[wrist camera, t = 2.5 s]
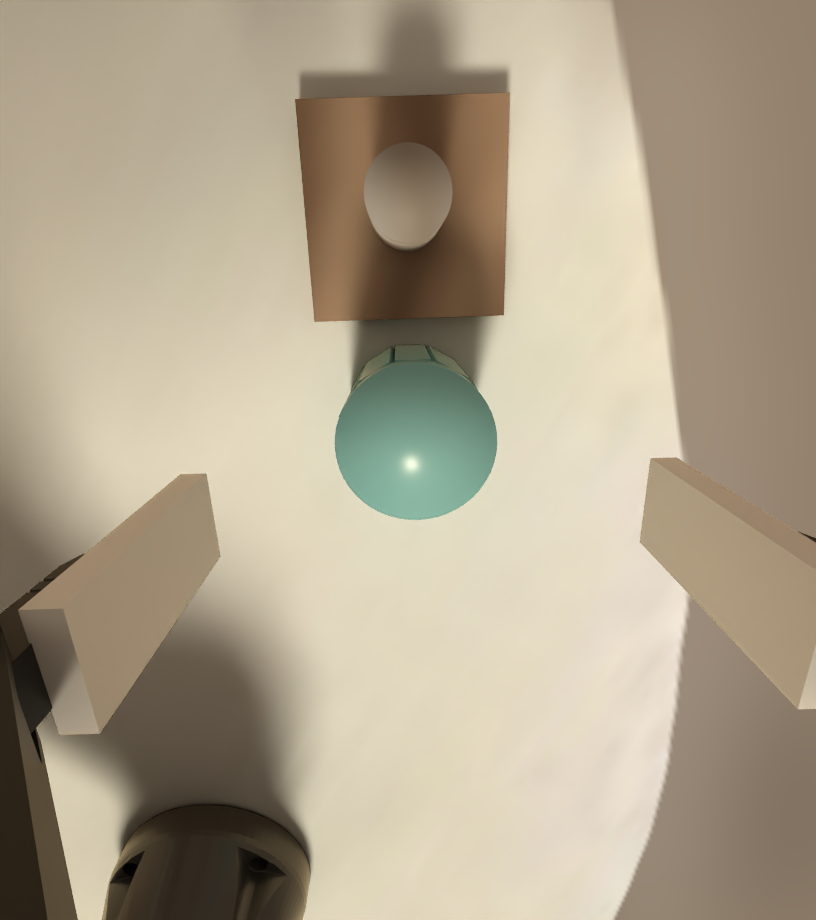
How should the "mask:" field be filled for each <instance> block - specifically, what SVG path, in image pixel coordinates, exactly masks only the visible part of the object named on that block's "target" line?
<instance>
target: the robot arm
mask: <svg viewBox="0 0 816 920" xmlns="http://www.w3.org/2000/svg"><path fill="white" fill-rule="evenodd" d="M640 543H641V544H642V545H643V546H644V547H645V548H646V549H647V550H648V551H649V552H650V553H651V554H652V555H653V557H654V558H655V559H656V560H657V561H658V562H659V563H660V564H661V565H662V566H663V567H664V568H665V569H666V570H667V571H668V572H669V573H670V575H671V576H672V577H673V578H674V579H675V580H676V581H677V582H678V583H679V584H680V585H681V586H682V587H683V588H684V589H685V590H686V591H687V593H688V594H689V595H690V596H691V597H692V598H693V599H694V600H695V601H696V602H697V603H698V604H699V605H700V606H701V607H702V608H703V609H704V610H705V612H706V613H707V614H708V615H709V616H710V617H711V618H712V619H713V620H714V621H715V622H716V623H717V624H718V625H719V626H720V627H721V628H722V629H723V631H724V632H725V633H726V634H727V635H728V636H729V637H730V638H731V639H732V640H733V641H734V642H735V643H736V644H737V645H738V646H739V648H740V649H742V651H743V652H744V653H745V654H746V655H747V656H748V657H749V658H750V659H751V660H752V661H753V662H754V663H755V664H756V665H757V667H758V668H759V669H760V670H761V671H762V672H763V673H764V674H765V675H766V676H767V677H768V678H769V679H770V680H771V681H772V682H773V683H774V685H775V686H776V687H777V688H778V689H779V690H780V691H781V692H782V693H783V694H784V695H785V696H786V697H787V698H788V699H789V700H790V702H791V703H792V704H793V705H794V706H795V707H796V708H797V709H816V538H814V537H811V536H808V535H806V534H803V533H800V532H798V531H796V530H794V529H793V528H791V527H789V526H788V525H786V524H784V523H783V522H781V521H780V520H778V519H776V518H775V517H773V516H771V515H770V514H768V513H766V512H764V511H763V510H761V509H760V508H758V507H756V506H755V505H753V504H752V503H750V502H748V501H746V500H745V499H743V498H742V497H740V496H739V495H737V494H735V493H734V492H732V491H730V490H728V489H727V488H725V487H724V486H722V485H721V484H719V483H717V482H716V481H714V480H712V479H711V478H709V477H707V476H706V475H704V474H702V473H701V472H699V471H698V470H696V469H694V468H693V467H691V466H689V465H688V464H686V463H684V462H683V461H681V460H680V459H678V458H651V459H650V466H649V474H648V482H647V489H646V497H645V505H644V513H643V520H642V528H641V536H640ZM219 558H220V551H219V545H218V539H217V534H216V528H215V522H214V516H213V510H212V504H211V498H210V493H209V487H208V481H207V475H206V474H180V475H179V476H178V477H177V478H175V479H174V480H173V481H172V482H171V483H169V484H168V485H167V486H166V487H165V488H163V489H162V490H161V491H160V492H159V493H158V494H156V495H155V496H154V497H153V498H152V499H150V500H149V501H148V502H147V503H146V504H144V505H143V506H142V507H141V508H140V509H138V510H137V511H136V512H135V513H134V514H132V515H131V516H130V517H129V518H128V519H126V520H125V521H124V522H123V523H122V524H120V525H119V526H118V527H117V528H116V529H114V530H113V531H112V532H111V533H110V534H108V535H107V536H106V537H105V538H104V539H102V540H101V541H100V542H99V543H98V544H96V545H95V546H94V547H93V548H92V549H90V550H89V551H88V552H87V553H86V554H82V555H80V556H78V557H76V558H74V559H72V560H71V561H69V562H67V563H65V564H63V565H61V566H59V567H58V568H57V569H56V570H54V571H53V572H52V573H51V574H49V575H48V576H47V577H46V578H44V581H43V582H39V583H38V584H37V585H36V586H34V587H33V588H32V589H31V590H30V593H26V594H25V595H23V596H22V597H21V598H20V599H18V600H17V601H16V602H15V603H13V604H12V605H11V606H10V607H9V608H7V609H6V610H5V611H4V612H2V613H1V614H0V920H78V919H77V914H76V909H75V904H74V899H73V895H72V890H71V885H70V880H69V875H68V870H67V866H66V861H65V856H64V851H63V846H62V841H61V837H60V832H59V827H58V822H57V817H56V812H55V807H54V803H53V798H52V793H51V788H50V783H49V778H48V774H47V769H46V764H45V759H44V754H43V749H42V744H41V741H40V738H39V735H38V732H37V729H36V727H37V726H38V725H39V724H40V723H41V721H42V720H43V719H44V718H45V717H46V715H47V714H48V713H49V712H50V711H51V712H52V715H53V718H54V721H55V724H56V727H57V730H58V733H59V735H75V734H100V733H101V731H102V730H103V728H104V727H105V725H106V724H107V723H108V721H109V720H110V718H111V717H112V715H113V714H114V712H115V711H116V709H117V708H118V706H119V705H120V703H121V702H122V700H123V699H124V697H125V696H126V695H127V693H128V692H129V690H130V689H131V687H132V686H133V684H134V683H135V681H136V680H137V678H138V677H139V675H140V674H141V672H142V671H143V670H144V668H145V667H146V665H147V664H148V662H149V661H150V659H151V658H152V656H153V655H154V653H155V652H156V650H157V649H158V647H159V646H160V644H161V643H162V642H163V640H164V639H165V637H166V636H167V634H168V633H169V631H170V630H171V628H172V627H173V625H174V624H175V622H176V621H177V619H178V618H179V617H180V615H181V614H182V612H183V611H184V609H185V608H186V606H187V605H188V603H189V602H190V600H191V599H192V597H193V596H194V594H195V593H196V591H197V590H198V589H199V587H200V586H201V584H202V583H203V581H204V580H205V578H206V577H207V575H208V574H209V572H210V571H211V569H212V568H213V566H214V565H215V563H216V562H217V561H218V559H219ZM309 882H310V869H309V864H308V861H307V858H306V855H305V853H304V852H303V850H302V848H301V847H300V845H299V844H298V843H297V841H296V840H295V839H294V838H293V837H292V836H291V835H290V834H289V833H288V832H286V831H285V830H284V829H283V828H281V827H280V826H278V825H277V824H275V823H274V822H272V821H270V820H268V819H266V818H264V817H262V816H260V815H257V814H255V813H252V812H249V811H245V810H242V809H238V808H233V807H226V806H217V805H198V806H189V807H183V808H178V809H174V810H171V811H168V812H165V813H162V814H160V815H158V816H156V817H154V818H152V819H150V820H149V821H147V822H146V823H144V824H143V825H142V826H140V827H139V828H138V829H137V830H136V831H135V832H134V833H133V835H132V836H131V837H130V839H129V840H128V842H127V844H126V846H125V848H124V850H123V852H122V854H121V856H120V858H119V860H118V862H117V864H116V866H115V868H114V870H113V873H112V875H111V878H110V881H109V885H108V890H107V895H106V901H105V906H104V911H103V916H102V920H302V919H303V916H304V912H305V908H306V902H307V895H308V888H309Z"/></svg>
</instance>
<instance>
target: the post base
mask: <svg viewBox="0 0 816 920" xmlns="http://www.w3.org/2000/svg"><path fill="white" fill-rule="evenodd" d="M509 96H510V93H482V94H449V95H417V96H385V97H352V98H320V99H295V102H296V114H297V125H298V137H299V148H300V160H301V171H302V183H303V194H304V205H305V217H306V228H307V240H308V251H309V263H310V274H311V286H312V297H313V309H314V320H315V322H319V321H348V320H377V319H406V318H436V317H465V316H494V315H504V284H505V246H506V209H507V171H508V133H509Z"/></svg>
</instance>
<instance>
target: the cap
mask: <svg viewBox="0 0 816 920" xmlns="http://www.w3.org/2000/svg"><path fill="white" fill-rule="evenodd" d="M496 450H497V432H496V426H495V422H494V419H493V416H492V413H491V411H490V409H489V407H488V405H487V403H486V401H485V400H484V398H483V397H482V395H481V394H480V393H479V392H478V390H477V388H476V386H475V385H474V383H473V381H472V380H471V379H470V378H469V377H468V375H467V374H466V373H465V372H464V371H463V370H462V368H461V367H460V366H459V365H458V364H457V363H456V362H455V361H454V360H453V359H452V358H450V357H448V356H446V355H444V354H443V353H441V352H439V351H437V350H435V349H434V348H432V347H430V346H428V348H427V350H426V348H425V346H424V345H400V346H395V353H394V351H393V350H392V348H391V347H390V348H389V349H387V350H386V351H384V352H382V353H381V354H379V355H378V356H376V357H375V358H373V359H371V360H370V361H368V362H367V363H366V366H364V367H363V369H362V371H361V373H360V374H359V376H358V378H357V380H356V382H355V384H354V386H353V388H352V390H351V392H350V394H349V397H348V399H347V401H346V403H345V405H344V407H343V409H342V411H341V413H340V415H339V420H338V424H337V427H336V434H335V452H336V458H337V462H338V465H339V469H340V471H341V473H342V475H343V478H344V479H345V481H346V483H347V484H348V486H349V487H350V488H351V490H352V491H353V492H354V493H355V494H356V495H357V496H358V497H359V498H360V499H361V500H362V501H363V502H364V503H366V504H367V505H369V506H370V507H372V508H373V509H375V510H377V511H379V512H381V513H383V514H386V515H388V516H392V517H396V518H401V519H408V520H422V519H430V518H434V517H439V516H442V515H444V514H447V513H449V512H451V511H454V510H456V509H457V508H459V507H460V506H462V505H464V504H465V503H466V502H467V501H469V500H470V499H471V498H472V497H473V496H474V495H475V494H476V493H477V492H478V491H479V490H480V488H481V487H482V486H483V484H484V483H485V481H486V480H487V478H488V476H489V474H490V472H491V469H492V467H493V464H494V460H495V456H496Z"/></svg>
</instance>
